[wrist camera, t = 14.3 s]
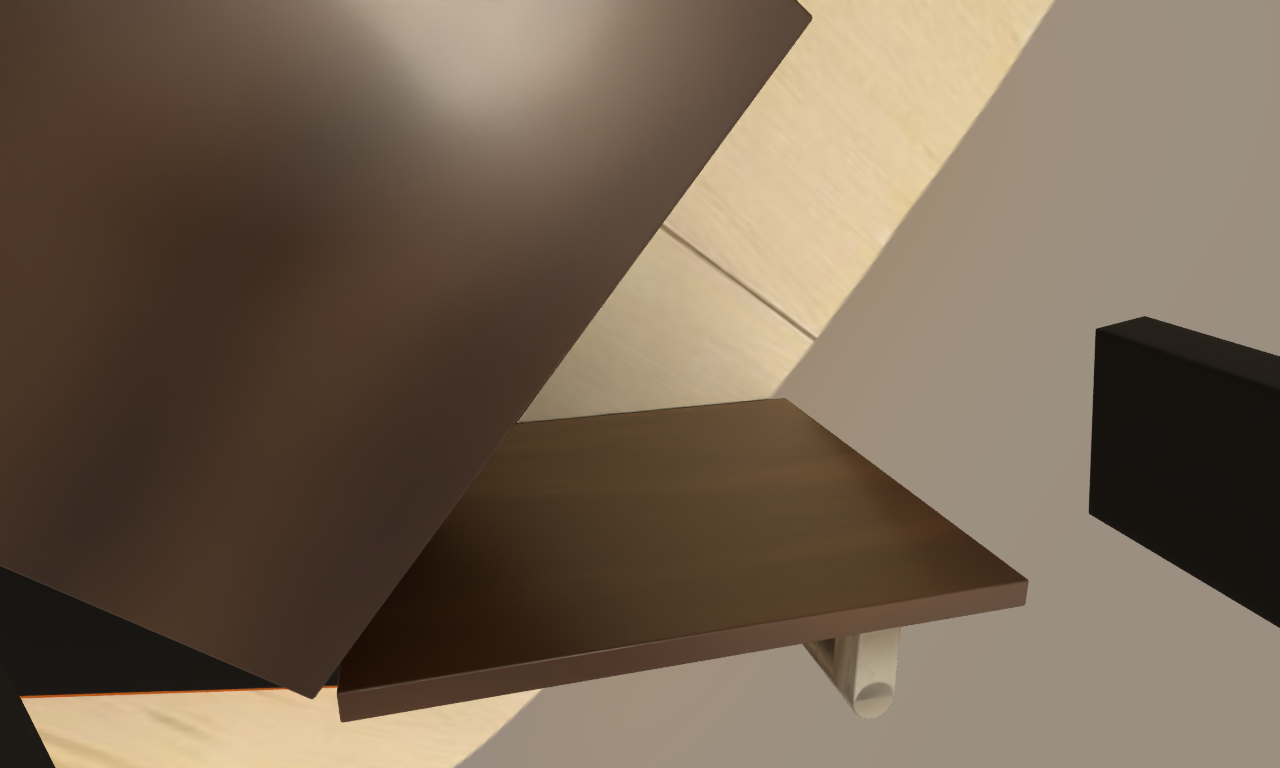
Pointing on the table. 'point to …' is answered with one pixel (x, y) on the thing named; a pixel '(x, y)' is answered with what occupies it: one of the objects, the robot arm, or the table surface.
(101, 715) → the table surface
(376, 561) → the cupboard
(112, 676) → the smartphone
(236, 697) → the table surface
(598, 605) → the cupboard door
